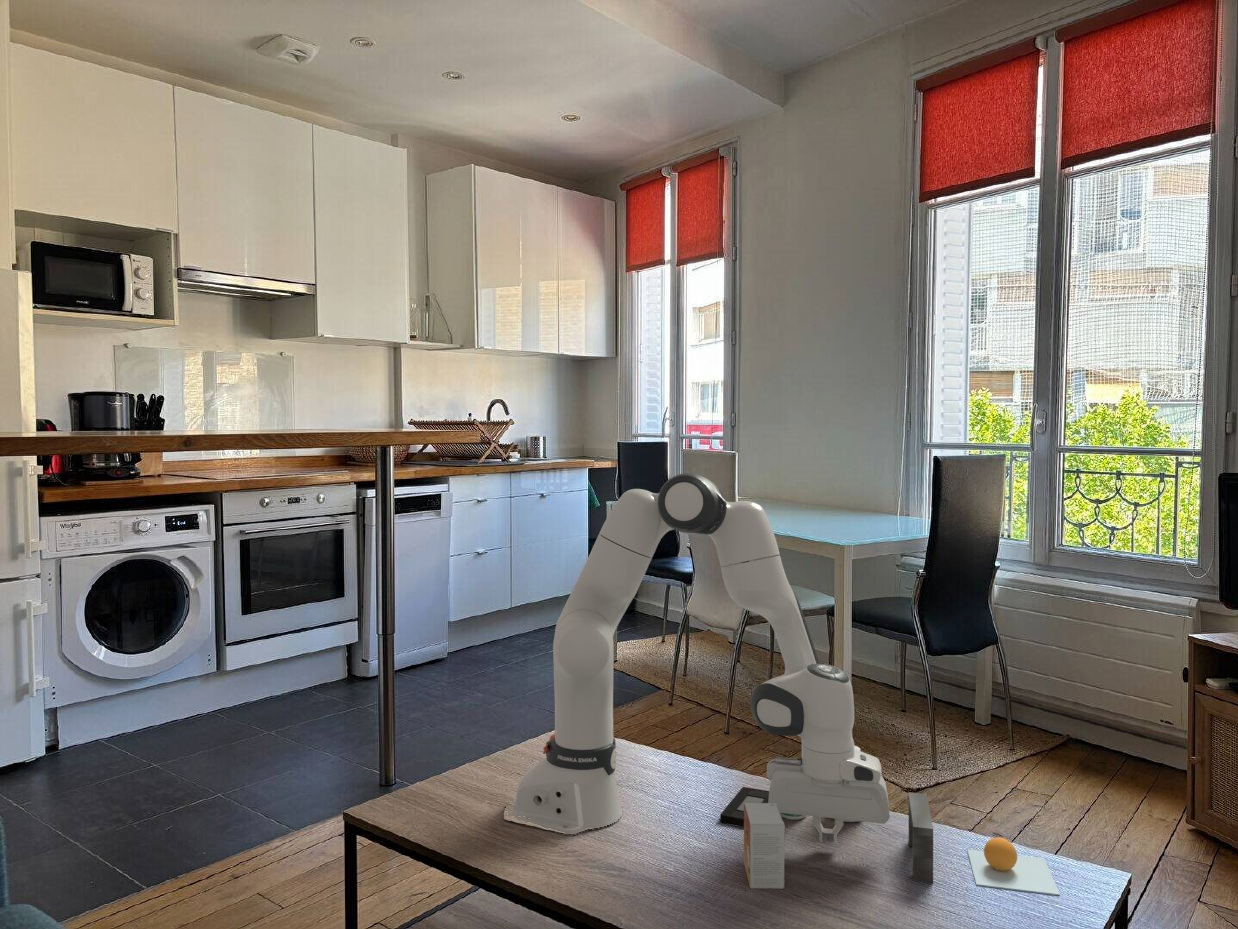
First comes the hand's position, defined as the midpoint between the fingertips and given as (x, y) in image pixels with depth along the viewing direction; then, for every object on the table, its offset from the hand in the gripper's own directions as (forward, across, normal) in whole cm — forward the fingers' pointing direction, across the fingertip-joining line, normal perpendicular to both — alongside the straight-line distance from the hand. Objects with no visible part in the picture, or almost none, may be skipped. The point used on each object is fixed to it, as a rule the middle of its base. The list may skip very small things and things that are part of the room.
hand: (828, 841), depth 147 cm
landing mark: (+2, +29, 0) cm, 29 cm away
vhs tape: (+2, -15, +13) cm, 20 cm away
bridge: (+2, +15, 0) cm, 15 cm away
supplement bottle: (+2, -7, +13) cm, 15 cm away
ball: (-1, +28, +1) cm, 28 cm away
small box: (+2, -10, -12) cm, 15 cm away
